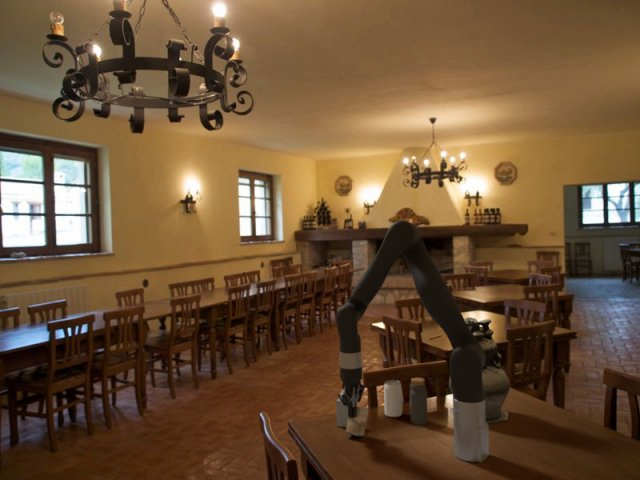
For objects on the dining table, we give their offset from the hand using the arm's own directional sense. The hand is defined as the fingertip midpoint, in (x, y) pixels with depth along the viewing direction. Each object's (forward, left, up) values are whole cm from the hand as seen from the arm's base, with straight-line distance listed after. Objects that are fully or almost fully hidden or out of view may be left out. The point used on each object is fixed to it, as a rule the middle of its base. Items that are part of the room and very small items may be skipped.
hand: (352, 417), depth 163 cm
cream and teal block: (0, -1, -6) cm, 6 cm away
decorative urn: (-26, -43, -7) cm, 51 cm away
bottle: (-11, -25, -7) cm, 28 cm away
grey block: (+9, -8, -7) cm, 14 cm away
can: (0, -26, -7) cm, 27 cm away
